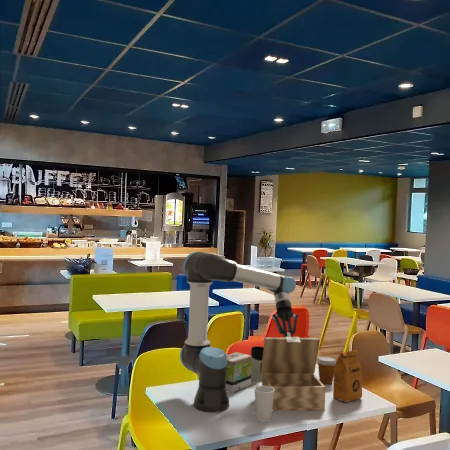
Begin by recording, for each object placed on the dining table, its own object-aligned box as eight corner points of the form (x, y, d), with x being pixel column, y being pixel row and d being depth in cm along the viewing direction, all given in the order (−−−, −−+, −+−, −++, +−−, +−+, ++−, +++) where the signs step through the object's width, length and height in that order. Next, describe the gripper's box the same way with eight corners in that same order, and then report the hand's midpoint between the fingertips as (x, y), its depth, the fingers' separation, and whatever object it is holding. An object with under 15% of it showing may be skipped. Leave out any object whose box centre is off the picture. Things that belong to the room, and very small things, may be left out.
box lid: (266, 341, 207) (264, 336, 211) (262, 376, 213) (260, 371, 217) (321, 342, 209) (319, 337, 213) (315, 377, 216) (313, 371, 220)
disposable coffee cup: (313, 379, 240) (313, 356, 240) (329, 378, 243) (330, 355, 242) (322, 386, 231) (323, 361, 231) (339, 385, 233) (340, 360, 233)
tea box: (233, 393, 216) (234, 361, 216) (216, 388, 222) (217, 357, 222) (251, 385, 228) (252, 355, 228) (234, 380, 234) (236, 351, 234)
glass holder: (256, 373, 246) (257, 345, 246) (277, 380, 236) (279, 351, 236) (245, 377, 240) (246, 347, 240) (266, 384, 230) (267, 354, 230)
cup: (257, 423, 185) (258, 393, 185) (250, 415, 192) (251, 386, 192) (276, 421, 187) (277, 391, 187) (268, 413, 195) (270, 385, 195)
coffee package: (365, 400, 214) (367, 352, 214) (345, 405, 208) (347, 355, 207) (349, 393, 222) (351, 346, 222) (329, 397, 216) (331, 349, 216)
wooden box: (269, 410, 198) (270, 386, 198) (261, 394, 216) (262, 373, 216) (324, 410, 200) (325, 387, 200) (312, 394, 218) (313, 373, 218)
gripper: (294, 308, 235) (302, 350, 219) (268, 308, 234) (274, 350, 217) (297, 299, 230) (305, 342, 213) (271, 299, 228) (277, 342, 212)
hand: (290, 346), depth 215 cm, fingers closed
